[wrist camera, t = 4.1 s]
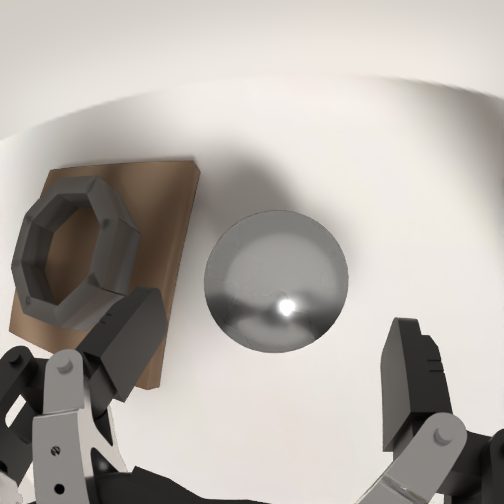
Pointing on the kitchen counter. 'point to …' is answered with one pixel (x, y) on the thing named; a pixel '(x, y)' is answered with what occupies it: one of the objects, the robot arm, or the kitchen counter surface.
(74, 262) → the socket board
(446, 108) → the kitchen counter surface
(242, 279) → the steel peg
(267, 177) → the kitchen counter surface
